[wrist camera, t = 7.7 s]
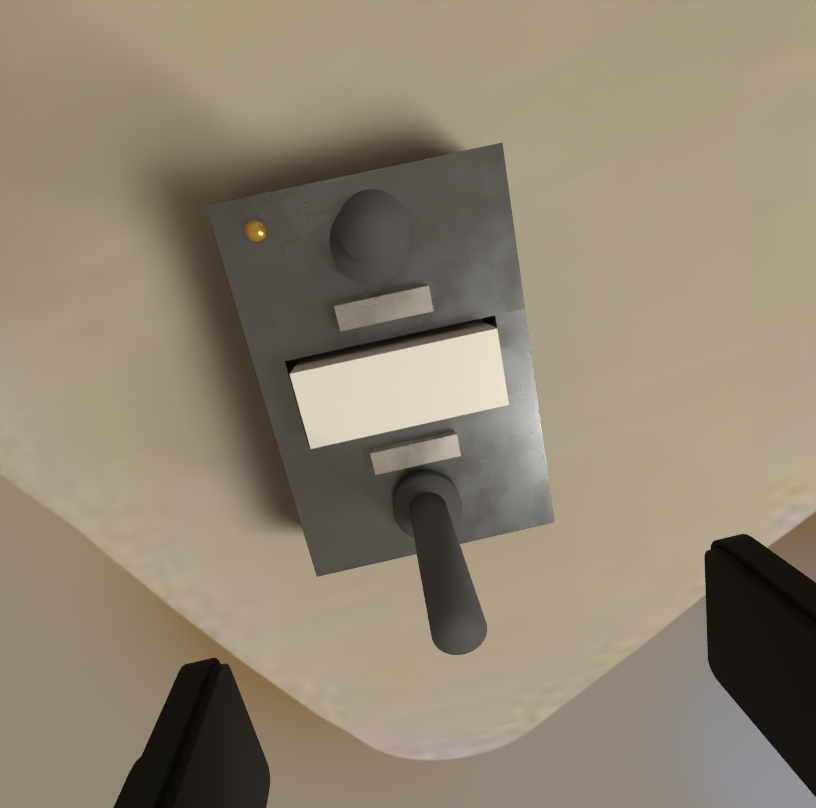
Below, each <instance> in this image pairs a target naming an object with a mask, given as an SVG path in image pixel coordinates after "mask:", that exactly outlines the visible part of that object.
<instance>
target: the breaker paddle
mask: <svg viewBox="0 0 816 808" xmlns="http://www.w3.org/2000/svg"><path fill="white" fill-rule="evenodd" d="M290 377H291V381H292V384H293V388H294V392H295V395H296V399H297V402H298V406H299V409H300V413H301V416H302V420H303V424H304V427H305V431H306V434H307V438H308V441H309V445H310V449H313V448H318V447H322V446H327V445H331V444H336V443H340V442H345V441H349V440H354V439H358V438H363V437H367V436H372V435H376V434H380V433H385V432H389V431H394V430H398V429H403V428H407V427H412V426H416V425H421V424H425V423H430V422H434V421H439V420H443V419H448V418H452V417H457V416H461V415H466V414H470V413H475V412H479V411H484V410H488V409H493V408H497V407H502V406H506V405H509V401H508V395H507V388H506V382H505V375H504V369H503V362H502V356H501V349H500V343H499V336H498V330H497V328H495V327H493V326H491V325H489V324H487V323H485V322H483V321H481V320H479V319H476V320H472V321H467V322H462V323H458V324H453V325H449V326H444V327H439V328H435V329H430V330H426V331H421V332H417V333H412V334H407V335H403V336H398V337H394V338H389V339H385V340H380V341H375V342H371V343H366V344H362V345H357V346H353V347H348V348H343V349H339V350H334V351H330V352H325V353H320V354H316V355H311V356H307V357H302V358H300V360H299V361H298V363H297V364H296V365H295V367H294V368H293V370H292V371H291V373H290Z"/></svg>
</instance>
